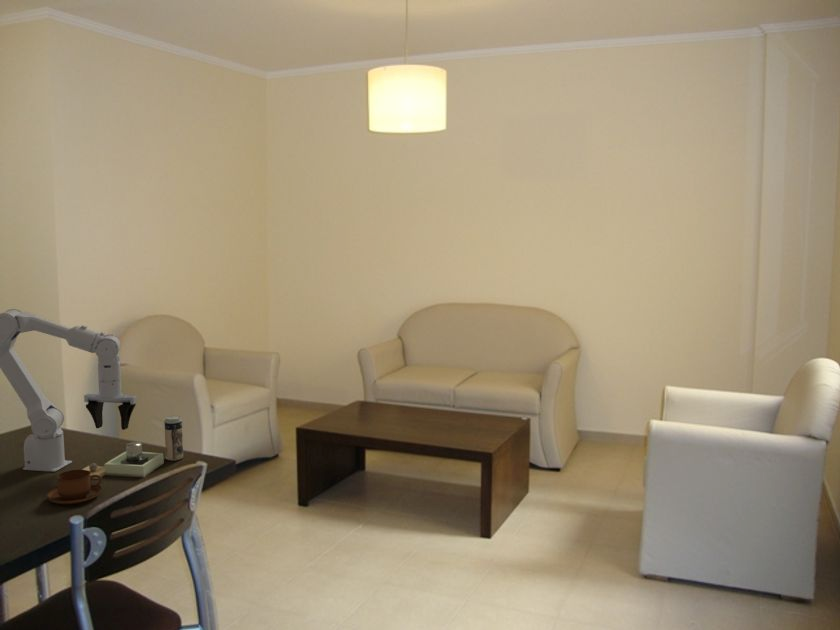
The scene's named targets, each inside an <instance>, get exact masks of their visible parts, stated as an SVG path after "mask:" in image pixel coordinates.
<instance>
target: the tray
mask: <svg viewBox="0 0 840 630" xmlns="http://www.w3.org/2000/svg"><path fill="white" fill-rule="evenodd" d="M142 457H148V462H146V463H145V464H143V465H130V464H121V461H122V460H124V459H126V451H124V452H122V453H120V454H119V455H117V456H115V457H113V458H112V459H110V460H108V461H107V462H105V463H104V465H103V466H104V468H105V475H104V476H115V477H130V478H131V477H133V478H134V477H135V478H145V477H147V476H148V475H149V474H151V473H152V472H154V471H155V470H156V469H158V468H159V467H161V466H163V465H164V464H165V463H164V460H165V459H164V453H163V452H151V451H150V452H147V451H142Z"/></svg>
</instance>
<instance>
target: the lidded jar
mask: <svg viewBox="0 0 840 630" xmlns="http://www.w3.org/2000/svg"><path fill="white" fill-rule="evenodd" d="M163 423H164V441H165V443H164V445H165V459H166V460H168V461H171V462H175V461H179V460H181V459H183V458H184V443H183V442H184V440H183V439H184V438H183V437H184V436H183V435H184V434H183V419H182V418H181V416H180V415H179V416H178V415H169V416H166V417H165V419H164V421H163Z"/></svg>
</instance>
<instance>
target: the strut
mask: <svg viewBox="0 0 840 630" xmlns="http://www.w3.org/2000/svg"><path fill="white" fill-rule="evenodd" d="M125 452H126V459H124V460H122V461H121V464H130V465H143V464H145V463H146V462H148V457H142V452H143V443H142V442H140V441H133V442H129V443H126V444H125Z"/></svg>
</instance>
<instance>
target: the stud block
mask: <svg viewBox="0 0 840 630" xmlns="http://www.w3.org/2000/svg"><path fill="white" fill-rule="evenodd" d="M81 470H87V471H89V472H90V476H91V475H99V476H100V477H101V478H103V477H104V476H106V475H105V468H104V465H103V466H102V465H101V466H100V465H98V464H97V463H95V462H93V463H90V464H89V465H87V466H86V467H84V468H82V469H81ZM92 479H97V480H99V479H98V478H97V477H94V478H92Z"/></svg>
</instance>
